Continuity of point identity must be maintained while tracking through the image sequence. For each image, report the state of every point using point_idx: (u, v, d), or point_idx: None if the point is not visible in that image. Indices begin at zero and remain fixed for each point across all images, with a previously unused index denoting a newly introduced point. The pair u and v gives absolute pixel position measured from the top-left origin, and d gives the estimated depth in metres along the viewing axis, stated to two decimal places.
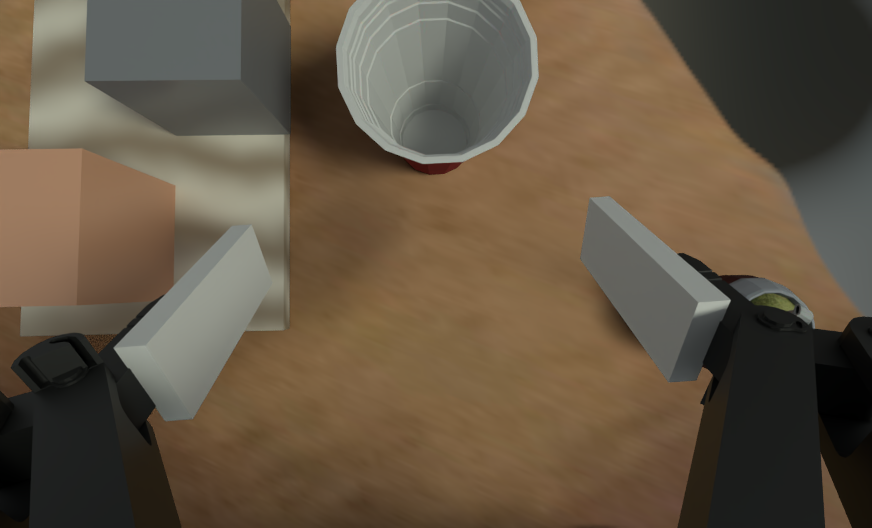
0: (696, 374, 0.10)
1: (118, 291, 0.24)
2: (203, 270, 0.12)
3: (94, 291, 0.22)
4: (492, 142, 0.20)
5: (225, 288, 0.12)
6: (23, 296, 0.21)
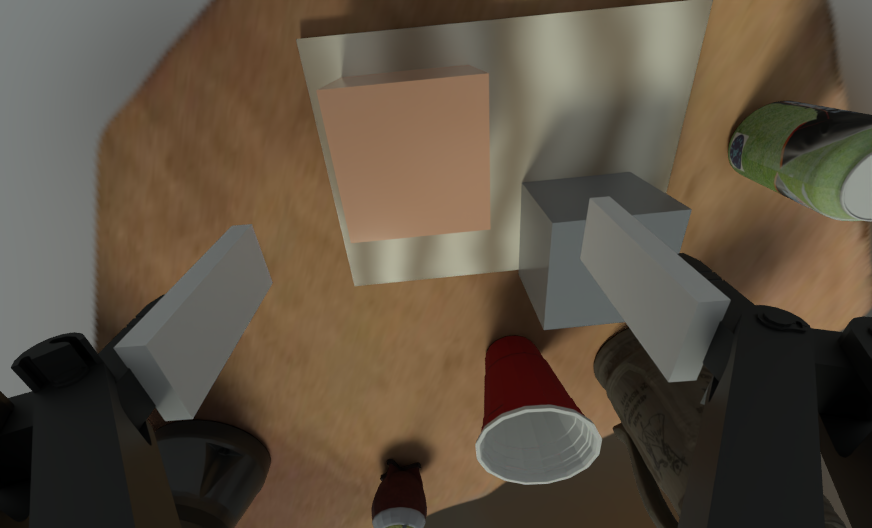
0: (696, 374, 0.10)
1: None
2: (203, 270, 0.12)
3: None
4: (488, 470, 0.34)
5: (225, 288, 0.12)
6: (350, 199, 0.23)
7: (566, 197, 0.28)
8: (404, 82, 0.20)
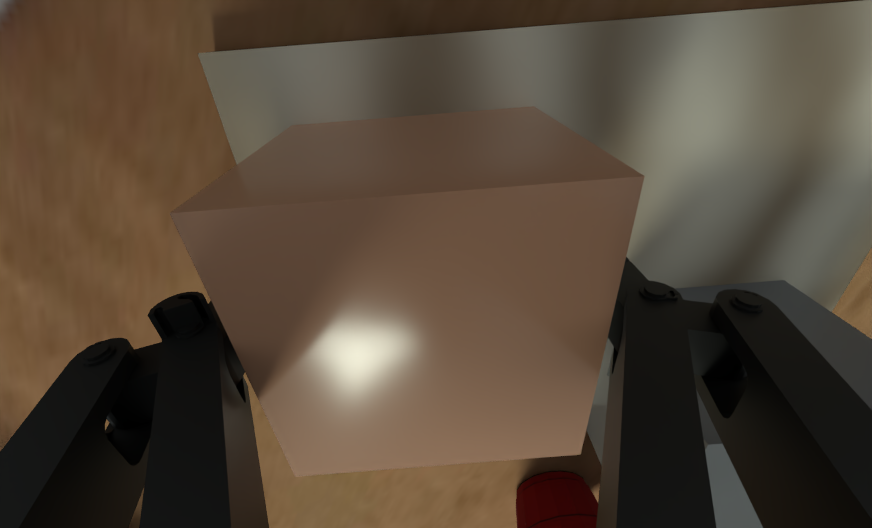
0: None
1: None
2: None
3: None
4: None
5: None
6: (287, 414, 0.10)
7: None
8: (412, 196, 0.07)
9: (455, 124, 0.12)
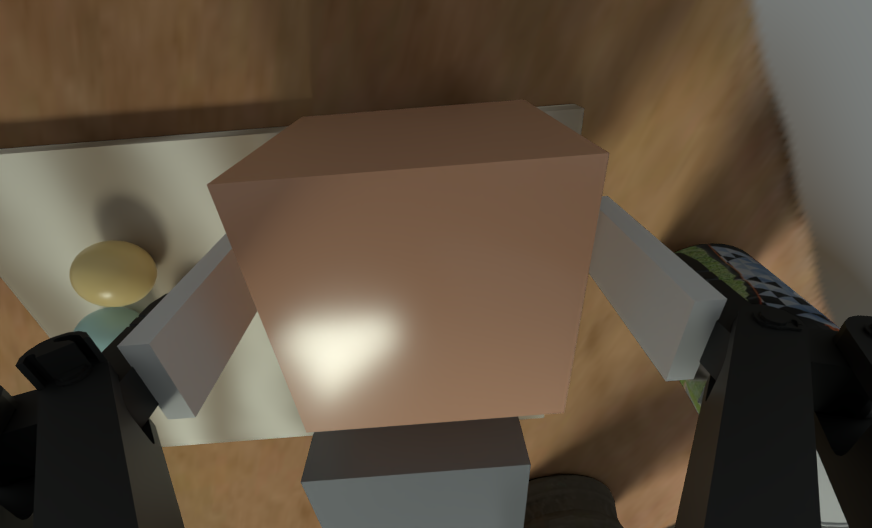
0: (693, 373, 0.10)
1: None
2: (205, 269, 0.12)
3: None
4: None
5: (227, 287, 0.12)
6: (301, 371, 0.12)
7: None
8: (412, 170, 0.08)
9: (451, 114, 0.13)
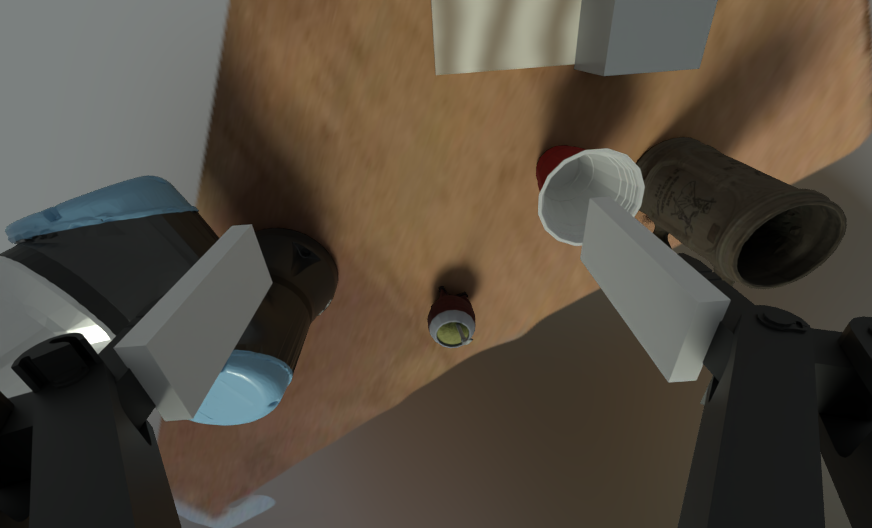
0: (696, 374, 0.10)
1: None
2: (203, 270, 0.12)
3: None
4: (546, 226, 0.41)
5: (225, 288, 0.12)
6: None
7: None
8: None
9: None
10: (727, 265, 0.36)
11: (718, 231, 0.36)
